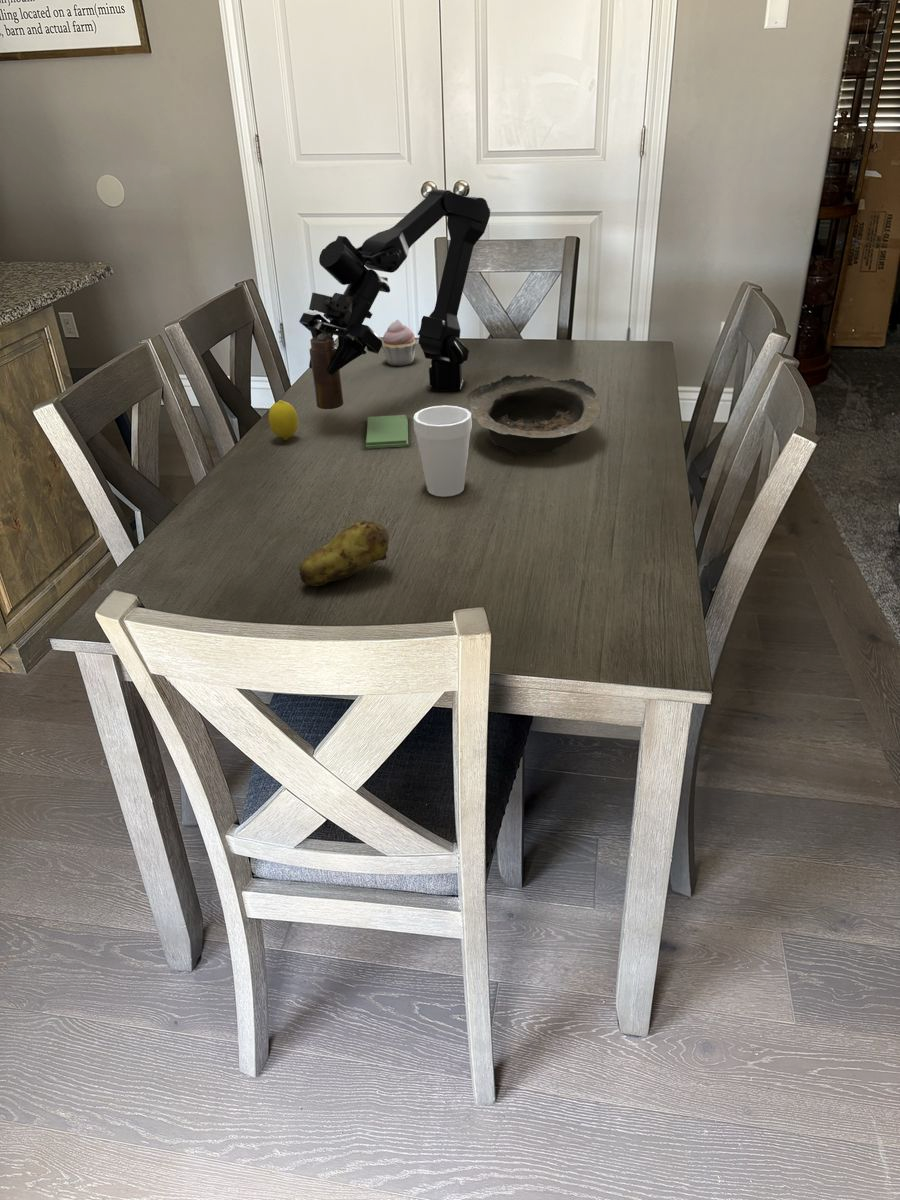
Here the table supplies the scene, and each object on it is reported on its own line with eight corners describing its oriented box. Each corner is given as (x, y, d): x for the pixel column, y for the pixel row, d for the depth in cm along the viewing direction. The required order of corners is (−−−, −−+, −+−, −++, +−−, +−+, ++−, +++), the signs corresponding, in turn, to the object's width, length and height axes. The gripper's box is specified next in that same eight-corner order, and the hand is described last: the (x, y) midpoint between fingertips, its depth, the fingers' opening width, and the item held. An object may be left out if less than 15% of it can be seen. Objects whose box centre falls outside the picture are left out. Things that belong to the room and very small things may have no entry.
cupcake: (425, 357, 211) (422, 315, 206) (412, 369, 204) (409, 326, 198) (389, 355, 214) (386, 314, 208) (375, 366, 206) (371, 324, 201)
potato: (303, 566, 127) (296, 517, 123) (391, 559, 128) (387, 510, 123) (300, 595, 120) (292, 545, 116) (393, 588, 121) (388, 538, 116)
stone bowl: (525, 405, 179) (529, 362, 174) (624, 444, 164) (631, 398, 159) (440, 439, 164) (440, 392, 159) (540, 484, 150) (544, 435, 145)
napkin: (407, 419, 176) (407, 414, 175) (408, 446, 164) (407, 440, 163) (368, 422, 176) (367, 416, 175) (366, 448, 164) (365, 442, 163)
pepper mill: (344, 399, 172) (336, 329, 164) (342, 408, 168) (333, 337, 160) (318, 400, 172) (309, 330, 164) (315, 410, 168) (305, 338, 160)
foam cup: (480, 480, 150) (478, 408, 143) (463, 503, 142) (461, 428, 135) (429, 474, 153) (425, 403, 146) (410, 497, 145) (404, 423, 138)
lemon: (303, 434, 171) (297, 395, 167) (296, 445, 167) (290, 405, 162) (276, 434, 172) (270, 395, 168) (268, 445, 167) (262, 405, 163)
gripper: (300, 268, 165) (261, 339, 164) (364, 280, 153) (323, 357, 153) (337, 301, 174) (300, 369, 173) (400, 315, 162) (361, 388, 162)
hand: (320, 370), depth 165 cm, fingers closed on pepper mill, 5 cm apart
